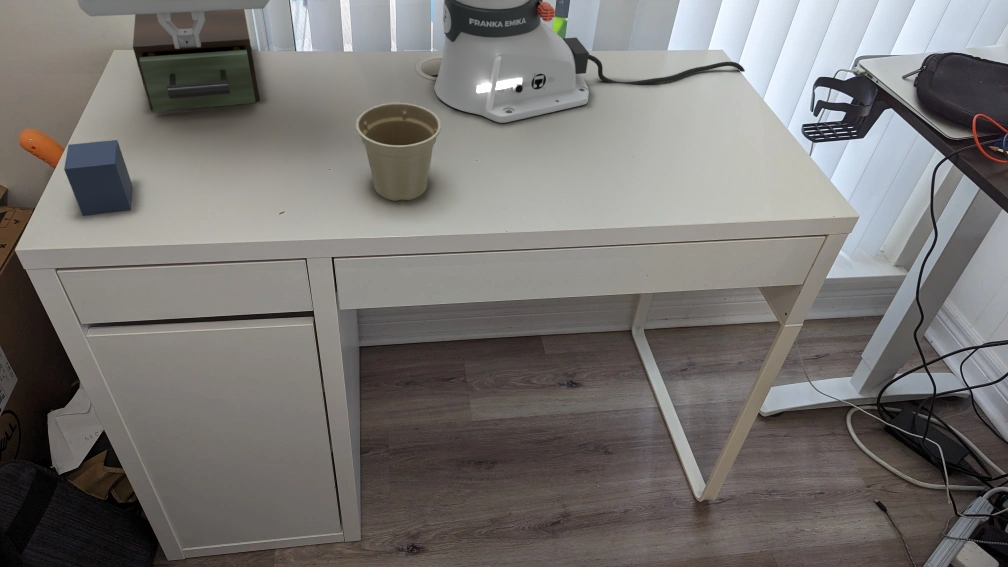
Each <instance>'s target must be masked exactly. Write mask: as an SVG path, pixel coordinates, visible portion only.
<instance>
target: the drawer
mask: <svg viewBox="0 0 1008 567" xmlns="http://www.w3.org/2000/svg"><path fill="white" fill-rule="evenodd" d="M140 65H141V69H142V72H143V76H144V79H145V83H146V86H147V90H148V93H149V97H150V100H151V104H152V107H153V110H152V111H153V112H154V113H155V112H167V111H178V110H189V109H201V108H210V107H211V108H212V107H225V106H234V105H243V104H244V105H246V104H256V102H257V101H255V95H254V90H253V84H252V78H251V73H250V67H249V61H248V55H247V50H241V48H240V46H232V47H218V48H203V49H188V50H174V51H159V52H148V57H140Z"/></svg>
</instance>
